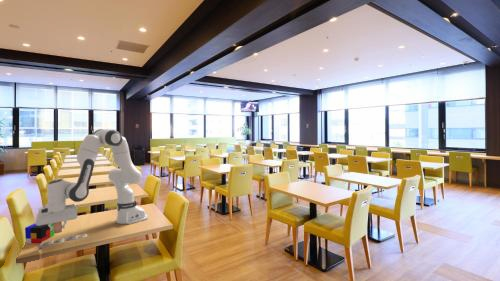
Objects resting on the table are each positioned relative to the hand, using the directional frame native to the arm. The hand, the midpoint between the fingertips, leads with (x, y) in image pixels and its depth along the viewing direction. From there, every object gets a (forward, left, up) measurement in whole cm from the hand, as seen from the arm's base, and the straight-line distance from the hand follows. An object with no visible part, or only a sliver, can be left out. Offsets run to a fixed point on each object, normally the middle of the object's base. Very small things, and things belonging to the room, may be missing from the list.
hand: (57, 229), depth 159 cm
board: (-3, 0, -9) cm, 9 cm away
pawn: (0, 0, -2) cm, 2 cm away
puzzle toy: (+8, -12, -9) cm, 17 cm away
